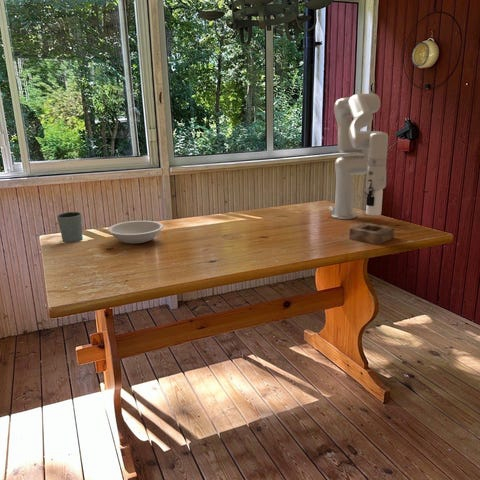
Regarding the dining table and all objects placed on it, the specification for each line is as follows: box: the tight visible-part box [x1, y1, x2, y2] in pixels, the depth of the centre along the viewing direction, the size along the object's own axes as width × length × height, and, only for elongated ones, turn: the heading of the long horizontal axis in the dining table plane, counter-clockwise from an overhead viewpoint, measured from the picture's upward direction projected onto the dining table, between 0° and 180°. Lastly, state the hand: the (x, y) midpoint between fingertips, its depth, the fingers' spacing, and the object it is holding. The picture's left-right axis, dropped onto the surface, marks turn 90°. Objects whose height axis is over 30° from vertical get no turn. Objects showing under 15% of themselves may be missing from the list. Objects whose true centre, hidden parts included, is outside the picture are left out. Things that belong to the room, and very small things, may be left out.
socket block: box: [348, 222, 395, 246], centre depth 198 cm, size 14×14×4 cm
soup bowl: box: [107, 220, 164, 245], centre depth 198 cm, size 24×24×7 cm
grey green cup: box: [56, 211, 83, 244], centre depth 201 cm, size 10×10×12 cm
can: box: [365, 188, 384, 217], centre depth 194 cm, size 6×6×12 cm
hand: (374, 203), depth 194 cm, fingers closed on can, 6 cm apart
